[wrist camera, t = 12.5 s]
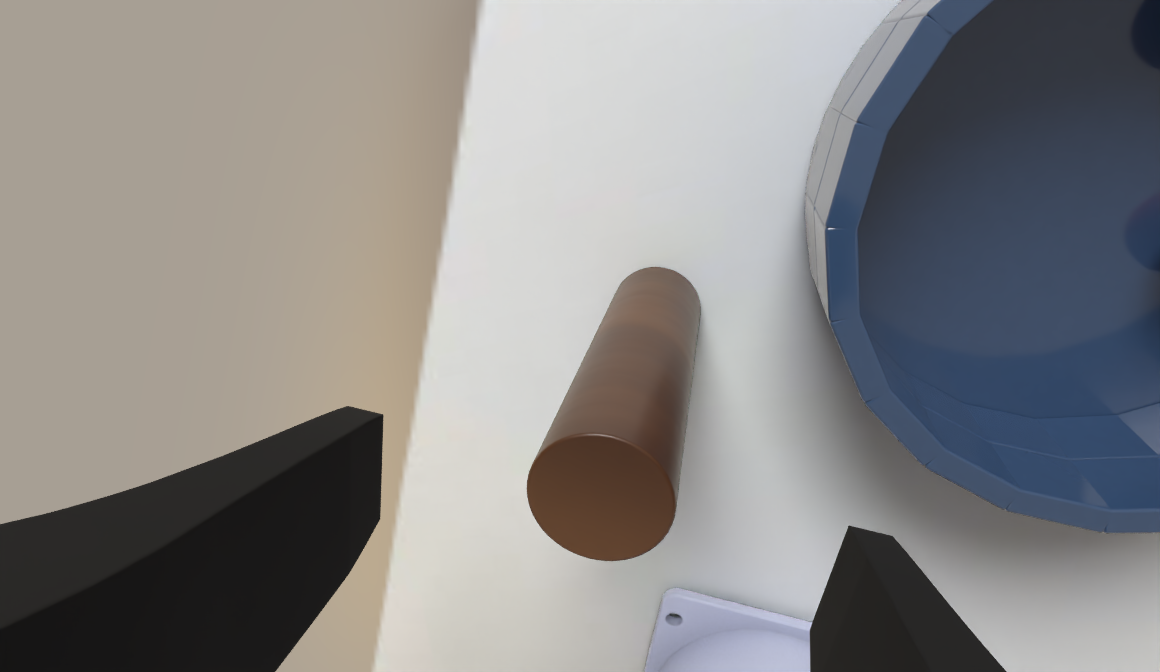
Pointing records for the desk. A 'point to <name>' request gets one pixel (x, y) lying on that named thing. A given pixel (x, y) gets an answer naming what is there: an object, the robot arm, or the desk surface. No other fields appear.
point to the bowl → (1003, 248)
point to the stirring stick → (622, 425)
